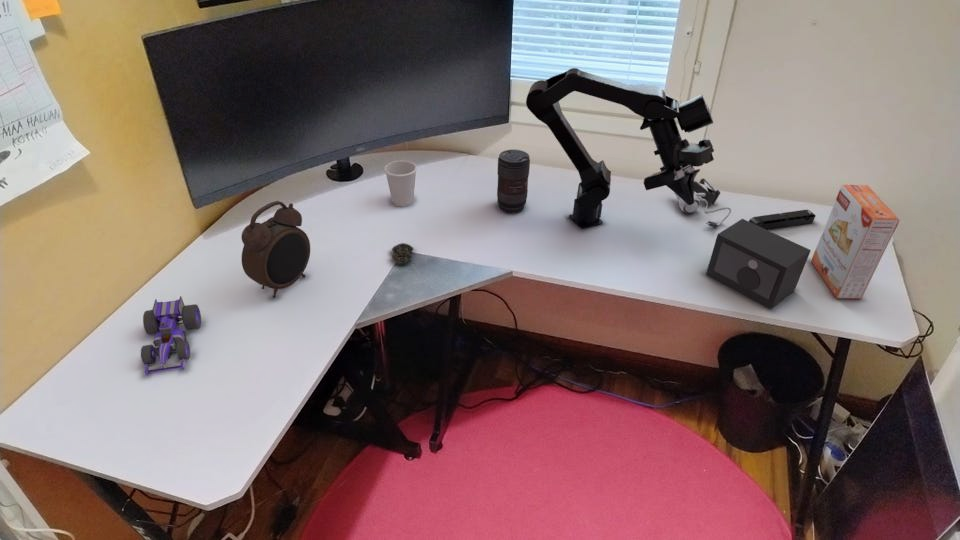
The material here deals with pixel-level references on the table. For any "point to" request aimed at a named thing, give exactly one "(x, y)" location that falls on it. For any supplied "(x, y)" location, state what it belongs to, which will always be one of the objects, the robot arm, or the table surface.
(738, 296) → the table surface
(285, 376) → the table surface
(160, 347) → the toy race car
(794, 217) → the tablet stand
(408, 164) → the dixie cup
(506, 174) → the camera lens
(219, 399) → the table surface
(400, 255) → the corroded twin loop
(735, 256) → the speaker
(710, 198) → the clip-on lamp
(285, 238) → the alarm clock
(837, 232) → the cracker box
